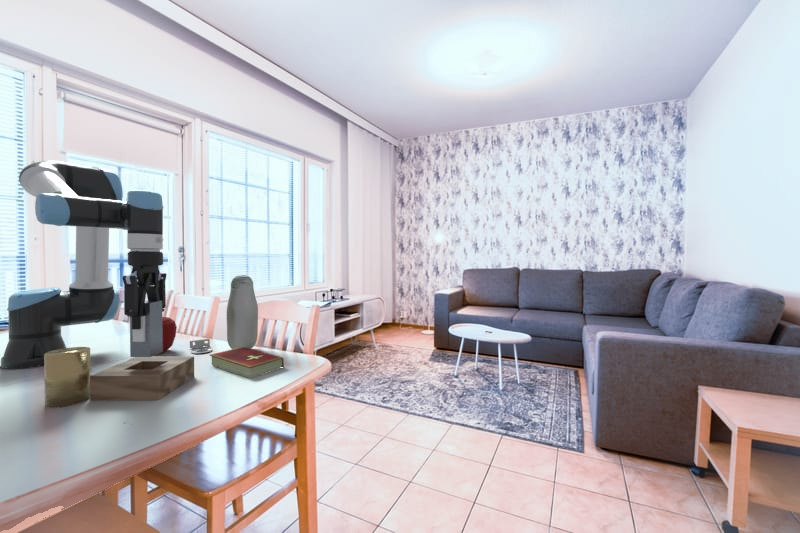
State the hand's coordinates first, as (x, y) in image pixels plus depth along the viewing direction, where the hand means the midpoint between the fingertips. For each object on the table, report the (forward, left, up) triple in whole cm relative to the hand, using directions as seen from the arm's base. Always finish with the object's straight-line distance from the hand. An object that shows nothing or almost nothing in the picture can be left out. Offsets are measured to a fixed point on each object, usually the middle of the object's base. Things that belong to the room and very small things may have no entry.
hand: (146, 338), depth 92 cm
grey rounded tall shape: (-35, +11, -13) cm, 39 cm away
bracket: (-36, -4, -14) cm, 39 cm away
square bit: (0, 0, -4) cm, 4 cm away
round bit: (+8, -13, -13) cm, 20 cm away
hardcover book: (-18, +19, -14) cm, 29 cm away
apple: (-33, -18, -13) cm, 40 cm away
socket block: (0, 0, -13) cm, 13 cm away
